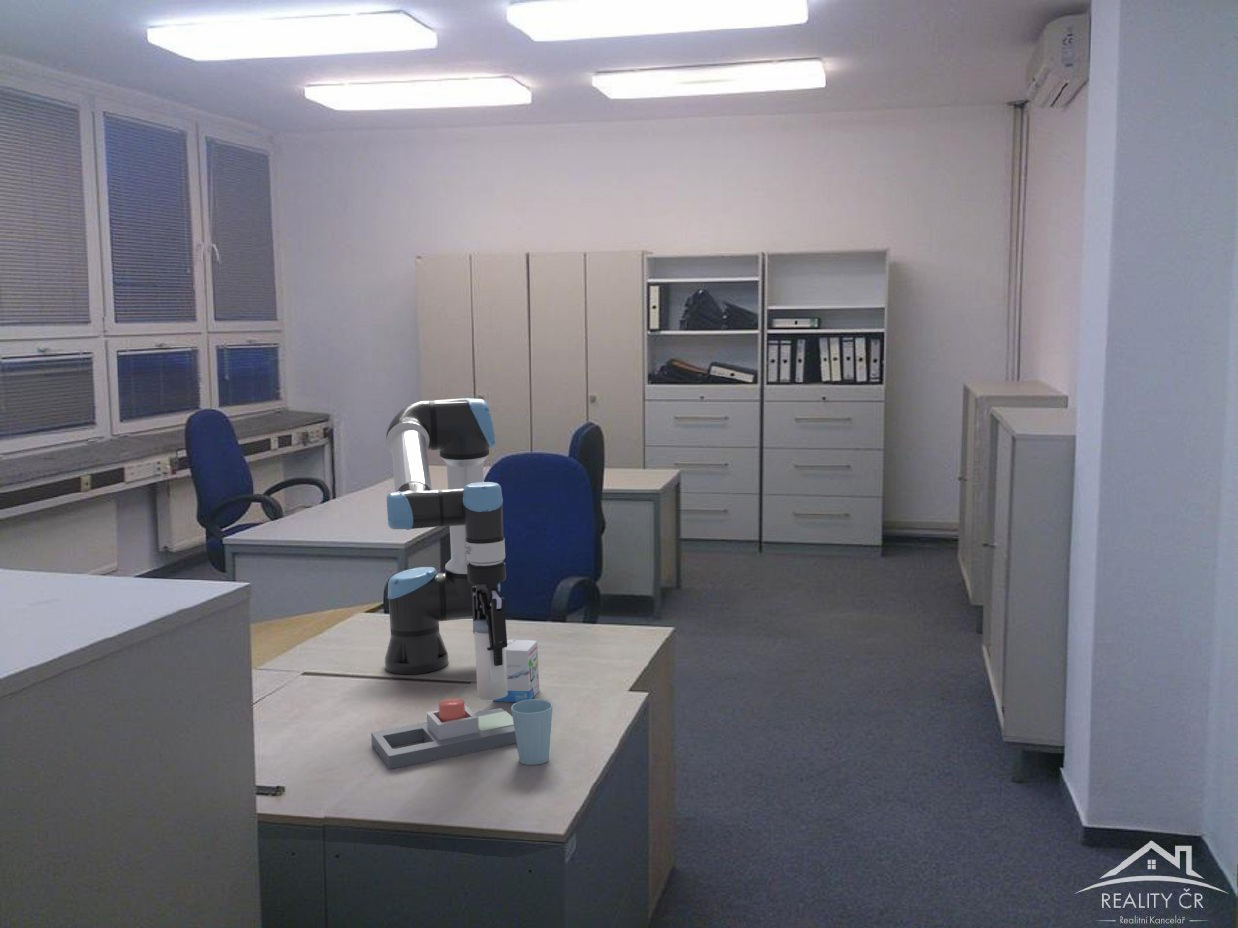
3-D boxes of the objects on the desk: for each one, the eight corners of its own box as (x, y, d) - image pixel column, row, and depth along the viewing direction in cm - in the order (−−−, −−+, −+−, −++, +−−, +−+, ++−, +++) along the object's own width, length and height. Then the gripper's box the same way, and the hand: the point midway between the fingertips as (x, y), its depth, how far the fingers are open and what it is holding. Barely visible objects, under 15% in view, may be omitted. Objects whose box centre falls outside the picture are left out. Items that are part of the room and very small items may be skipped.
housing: (371, 744, 217) (370, 717, 216) (501, 719, 228) (500, 693, 228) (389, 768, 204) (387, 740, 203) (525, 740, 216) (524, 713, 215)
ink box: (529, 703, 238) (527, 650, 236) (492, 701, 240) (489, 649, 238) (540, 690, 246) (538, 639, 245) (503, 688, 248) (501, 638, 246)
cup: (505, 759, 207) (503, 705, 206) (538, 748, 212) (536, 696, 210) (529, 770, 201) (526, 715, 200) (562, 759, 206) (560, 705, 205)
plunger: (436, 725, 217) (435, 701, 217) (461, 721, 220) (459, 697, 219) (444, 733, 213) (442, 708, 212) (469, 729, 215) (467, 704, 214)
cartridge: (472, 693, 221) (469, 620, 219) (502, 687, 223) (498, 615, 222) (482, 701, 215) (479, 627, 213) (512, 696, 218) (509, 622, 216)
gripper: (453, 555, 223) (459, 666, 226) (483, 572, 206) (489, 692, 209) (488, 551, 226) (493, 660, 229) (521, 567, 209) (526, 685, 212)
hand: (491, 675), depth 219 cm, fingers closed on cartridge, 6 cm apart
